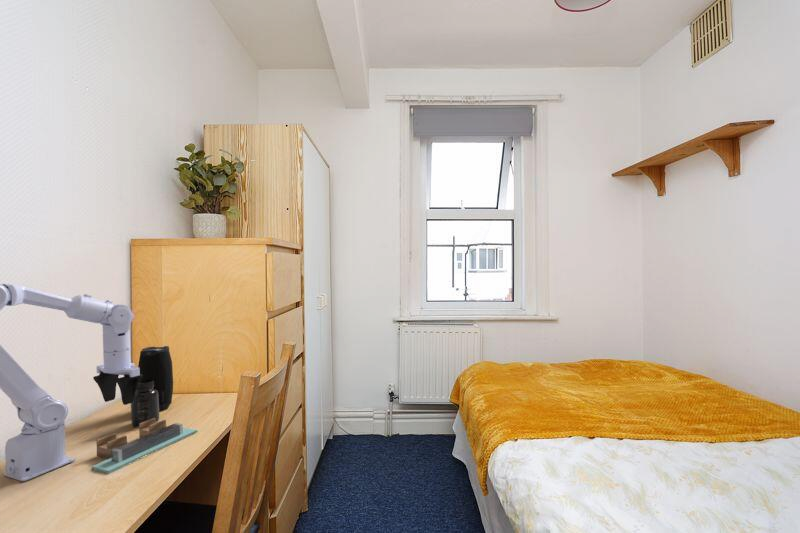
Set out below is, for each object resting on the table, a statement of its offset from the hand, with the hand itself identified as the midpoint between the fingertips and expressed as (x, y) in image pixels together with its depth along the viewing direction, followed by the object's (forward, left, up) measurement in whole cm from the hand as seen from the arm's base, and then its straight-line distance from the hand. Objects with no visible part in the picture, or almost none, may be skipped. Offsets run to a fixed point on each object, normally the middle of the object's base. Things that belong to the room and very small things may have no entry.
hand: (118, 402), depth 101 cm
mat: (-1, -13, -10) cm, 16 cm away
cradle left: (-6, -7, -10) cm, 14 cm away
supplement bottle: (+10, +5, -10) cm, 15 cm away
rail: (-1, -13, -9) cm, 16 cm away
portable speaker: (+19, +13, -10) cm, 25 cm away
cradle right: (+4, -7, -10) cm, 13 cm away
